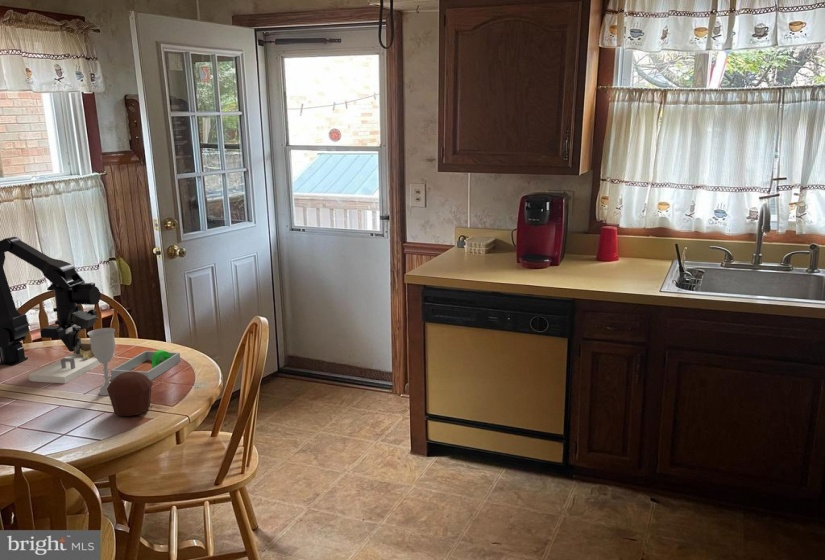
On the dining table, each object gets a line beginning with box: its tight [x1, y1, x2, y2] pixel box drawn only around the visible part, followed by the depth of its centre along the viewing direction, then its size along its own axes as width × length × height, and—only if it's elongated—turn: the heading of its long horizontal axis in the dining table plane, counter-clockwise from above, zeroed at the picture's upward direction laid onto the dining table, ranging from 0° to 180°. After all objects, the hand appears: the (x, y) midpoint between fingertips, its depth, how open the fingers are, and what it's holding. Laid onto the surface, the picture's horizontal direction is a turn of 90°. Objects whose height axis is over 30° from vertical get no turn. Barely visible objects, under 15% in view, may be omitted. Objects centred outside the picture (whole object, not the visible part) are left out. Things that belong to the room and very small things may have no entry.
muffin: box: [107, 370, 153, 417], centre depth 180 cm, size 12×11×10 cm
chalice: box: [87, 327, 116, 396], centre depth 191 cm, size 7×7×18 cm
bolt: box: [75, 337, 94, 358], centre depth 219 cm, size 6×10×6 cm, turn 169°
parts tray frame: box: [110, 350, 181, 381], centre depth 210 cm, size 12×18×3 cm
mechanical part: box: [151, 349, 171, 369], centre depth 213 cm, size 12×6×8 cm, turn 145°
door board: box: [28, 338, 116, 384], centre depth 212 cm, size 12×24×6 cm, turn 169°
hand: (72, 351), depth 215 cm, fingers closed
